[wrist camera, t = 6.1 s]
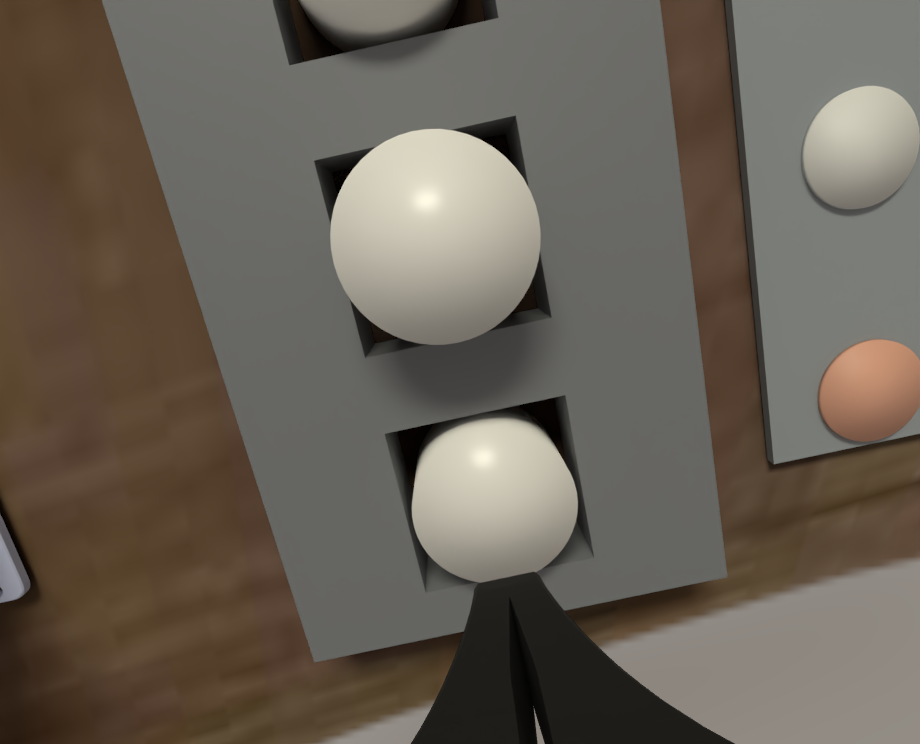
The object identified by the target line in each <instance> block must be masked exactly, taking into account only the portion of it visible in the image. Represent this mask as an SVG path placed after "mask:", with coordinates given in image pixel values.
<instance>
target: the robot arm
mask: <svg viewBox="0 0 920 744" xmlns="http://www.w3.org/2000/svg"><path fill="white" fill-rule="evenodd" d="M0 587H1V589H2V590H3V591H2V590H0V603H3V602H8V601H12V600H16V599H19V598H21V597H22V596H23V595H24V594H25V593H26V592H27V591H28V590H29V589H30V580H29V578H28V575H27V573H26V571H25V569H24V566H23V564H22V562H21V560H20V557H19V555H18V553H17V551H16V548H15V546H14V544H13V541H12V539H11V537H10V535H9V532H8V530H7V528H6V526H5V523H4V521H3V519H2V517H1V514H0ZM533 706H534V707H533ZM534 709H535V713H536V716H537V719H538V723H539V726H540V729H541V732H542V736H543V739H544V742H545V744H734V743H732V742H731V741H729V740H727V739H725V738H723V737H721V736H720V735H718V734H716V733H714V732H712V731H711V730H709V729H707V728H705V727H703V726H702V725H700V724H699V723H697V722H696V721H694V720H693V719H691V718H689V717H688V716H686V715H685V714H683V713H682V712H680V711H679V710H677V709H675V708H674V707H672V706H671V705H669V704H668V703H666V702H664V701H663V700H662V699H660V698H659V697H658V696H656V695H655V694H654V693H652V692H651V691H650V690H648V689H647V688H646V687H644V686H643V685H641V684H640V683H639V682H638V681H637V680H635V679H634V678H633V677H632V676H630V675H629V674H628V673H627V672H625V671H624V670H623V669H622V668H621V667H620V666H618V665H617V664H616V663H615V662H614V661H613V660H612V659H610V658H609V657H608V656H607V655H606V654H605V653H604V652H603V651H602V650H601V649H600V648H599V647H598V646H597V645H596V644H595V643H594V642H593V641H592V640H591V639H590V638H589V637H588V636H587V635H586V634H585V633H584V632H583V631H582V630H581V629H580V628H579V627H578V626H577V624H576V623H575V622H574V621H573V620H572V619H571V618H570V617H569V616H568V614H567V613H566V612H565V611H564V610H563V608H562V607H561V606H560V605H559V603H558V602H557V601H556V600H555V598H554V597H553V596H552V594H551V593H550V592H549V590H548V589H547V587H546V586H545V584H544V582H543V581H542V579H541V577H540V575H538V574H537V573H535V572H529V573H525V574H520V575H515V576H510V577H506V578H501V579H496V580H491V581H487V582H482V583H478V584H477V586H476V587H475V589H474V595H473V600H472V605H471V609H470V613H469V616H468V620H467V623H466V626H465V629H464V632H463V635H462V638H461V641H460V644H459V647H458V650H457V652H456V655H455V658H454V660H453V662H452V665H451V667H450V669H449V672H448V674H447V676H446V679H445V681H444V683H443V686H442V688H441V690H440V692H439V694H438V696H437V698H436V700H435V702H434V704H433V706H432V708H431V710H430V712H429V714H428V715H427V717H426V719H425V721H424V723H423V725H422V726H421V728H420V730H419V731H418V733H417V735H416V736H415V738H414V740H413V741H412V743H411V744H537V736H536V727H535V716H534Z"/></svg>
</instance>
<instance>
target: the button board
mask: <svg viewBox="0 0 920 744" xmlns="http://www.w3.org/2000/svg"><path fill="white" fill-rule="evenodd" d="M481 1H482V6H483V12H484V17H485V21H483V22H478V23H474V24H469V25H465V26H461V27H456V28H452V29H447V30H443V31H439V32H434V33H430V34H426V35H421V36H417V37H412V38H408V39H404V40H399V41H395V42H390V43H386V44H382V45H377V46H373V47H368V48H364V49H360V50H355V51H351V52H346V53H342V54H338V55H333V56H329V57H324V58H320V59H316V60H311V61H307V62H304V60H303V56H302V52H301V48H300V45H299V41H298V37H297V33H296V29H295V25H294V21H293V17H292V13H291V9H290V5H289V1H288V0H102V2H103V5H104V9H105V12H106V15H107V18H108V21H109V24H110V27H111V30H112V33H113V37H114V40H115V43H116V46H117V49H118V52H119V55H120V58H121V61H122V65H123V68H124V71H125V74H126V77H127V80H128V83H129V86H130V89H131V93H132V96H133V99H134V102H135V105H136V108H137V111H138V114H139V118H140V121H141V124H142V127H143V130H144V133H145V136H146V139H147V142H148V146H149V149H150V152H151V155H152V158H153V161H154V164H155V167H156V170H157V174H158V177H159V180H160V183H161V186H162V189H163V192H164V195H165V198H166V202H167V205H168V208H169V211H170V214H171V217H172V220H173V223H174V227H175V230H176V233H177V236H178V239H179V242H180V245H181V248H182V251H183V255H184V258H185V261H186V264H187V267H188V270H189V273H190V276H191V279H192V283H193V286H194V289H195V292H196V295H197V298H198V301H199V304H200V307H201V311H202V314H203V317H204V320H205V323H206V326H207V329H208V332H209V336H210V339H211V342H212V345H213V348H214V351H215V354H216V357H217V360H218V364H219V367H220V370H221V373H222V376H223V379H224V382H225V385H226V388H227V392H228V395H229V398H230V401H231V404H232V407H233V410H234V413H235V416H236V420H237V423H238V426H239V429H240V432H241V435H242V438H243V441H244V444H245V448H246V451H247V454H248V457H249V460H250V463H251V466H252V469H253V473H254V476H255V479H256V482H257V485H258V488H259V491H260V494H261V497H262V501H263V504H264V507H265V510H266V513H267V516H268V519H269V522H270V525H271V529H272V532H273V535H274V538H275V541H276V544H277V547H278V550H279V553H280V557H281V560H282V563H283V566H284V569H285V572H286V575H287V578H288V582H289V585H290V588H291V591H292V594H293V597H294V600H295V603H296V606H297V610H298V613H299V616H300V619H301V622H302V625H303V628H304V631H305V634H306V638H307V641H308V644H309V647H310V650H311V653H312V656H313V659H314V662H319V661H324V660H328V659H333V658H338V657H343V656H348V655H353V654H357V653H362V652H367V651H372V650H377V649H382V648H386V647H391V646H396V645H401V644H406V643H411V642H415V641H420V640H425V639H430V638H435V637H440V636H444V635H449V634H454V633H459V632H464V629H465V626H466V623H467V620H468V616H469V613H470V609H471V605H472V600H473V595H474V589H475V587H476V586H477V584H478V583H479V582H475V581H470V580H467V579H464V578H461V577H458V576H456V575H454V574H452V573H450V572H448V571H447V570H445V569H444V568H442V567H441V566H440V565H439V564H437V563H436V562H435V561H434V560H433V559H432V558H431V557H430V556H429V555H428V553H427V552H426V551H425V549H424V548H423V546H422V545H421V543H420V541H419V539H418V537H417V534H416V531H415V528H414V524H413V519H412V500H413V491H412V487H411V483H410V479H409V475H408V472H407V468H406V464H405V460H404V456H403V452H402V448H401V444H400V440H399V436H398V432H397V431H400V430H405V429H409V428H414V427H419V426H423V425H428V424H433V423H437V422H442V421H447V420H452V419H456V418H461V417H466V416H470V415H475V414H480V413H484V412H489V411H494V410H498V409H503V408H508V407H512V406H517V405H522V404H526V403H531V402H536V401H540V400H545V399H550V398H554V401H555V407H556V412H557V418H558V423H559V429H560V434H561V440H562V445H563V451H564V456H565V462H566V466H567V468H568V470H569V471H570V473H571V476H572V478H573V480H574V483H575V487H576V491H577V499H578V512H577V518H576V523H575V526H574V529H573V532H572V534H571V536H570V538H569V540H568V542H567V543H566V545H565V546H564V548H563V549H562V551H561V552H560V553H559V554H558V555H557V556H556V557H555V558H554V559H553V560H552V561H551V562H550V563H549V564H548V565H546V566H545V567H543V568H542V569H541V570H539V571H537V572H535V573H537V574H538V575H540V577H541V579H542V581H543V582H544V584H545V586H546V587H547V589H548V590H549V592H550V593H551V594H552V596H553V597H554V598H555V600H556V601H557V602H558V603H559V605H560V606H561V607H562V608H563V610H564V611H565V610H570V609H575V608H580V607H585V606H590V605H594V604H599V603H604V602H609V601H614V600H619V599H623V598H628V597H633V596H638V595H643V594H648V593H652V592H657V591H662V590H667V589H672V588H677V587H681V586H686V585H691V584H696V583H701V582H706V581H710V580H715V579H720V578H725V577H727V570H726V561H725V553H724V544H723V536H722V527H721V519H720V510H719V502H718V493H717V484H716V476H715V467H714V459H713V450H712V442H711V433H710V425H709V416H708V408H707V399H706V390H705V382H704V373H703V365H702V356H701V348H700V339H699V331H698V322H697V314H696V305H695V296H694V288H693V279H692V271H691V262H690V254H689V245H688V237H687V228H686V220H685V211H684V202H683V194H682V185H681V177H680V168H679V160H678V151H677V143H676V134H675V126H674V117H673V108H672V100H671V91H670V83H669V74H668V66H667V57H666V49H665V40H664V32H663V23H662V14H661V6H660V0H481ZM423 129H445V130H453V131H457V132H461V133H465V134H468V135H471V136H473V137H475V138H478V139H483V138H488V137H492V136H497V135H501V134H506V138H507V143H508V149H509V154H510V160H511V163H512V164H513V165H514V166H515V167H516V169H517V170H518V172H519V173H520V174H521V176H522V177H523V179H524V180H525V182H526V184H527V186H528V188H529V190H530V191H531V194H532V197H533V199H534V202H535V204H536V208H537V212H538V216H539V223H540V232H541V240H540V253H539V260H538V264H537V267H536V271H535V274H534V277H533V279H532V280H533V286H534V291H535V297H536V302H537V308H536V309H532V310H527V311H522V312H518V313H513V314H509V315H508V316H507V317H506V318H505V319H504V320H503V321H502V322H500V323H499V324H498V325H496V326H495V327H494V328H492V329H490V330H489V331H487V332H485V333H484V334H482V335H479V336H477V337H475V338H472V339H469V340H466V341H462V342H459V343H453V344H446V345H428V344H419V343H415V342H411V341H406V340H404V339H401V338H398V339H393V340H389V341H384V342H380V343H375V341H374V337H373V333H372V329H371V325H370V321H369V319H367V318H366V317H365V316H364V315H363V314H362V313H361V312H360V311H359V310H358V308H357V307H356V306H355V305H354V304H353V303H352V301H351V300H350V298H349V297H348V295H347V293H346V292H345V290H344V288H343V286H342V284H341V282H340V280H339V278H338V275H337V272H336V269H335V266H334V262H333V257H332V252H331V241H330V231H331V219H332V214H333V209H334V206H335V203H336V200H337V197H338V195H337V191H336V187H335V183H334V179H333V175H332V172H336V171H340V170H345V169H349V168H354V167H355V166H356V165H357V164H358V163H359V161H360V160H361V159H362V158H363V157H364V156H366V155H367V154H368V153H369V152H370V151H371V150H373V149H374V148H376V147H377V146H379V145H380V144H382V143H383V142H385V141H387V140H389V139H391V138H393V137H396V136H398V135H401V134H404V133H408V132H411V131H417V130H423Z"/></svg>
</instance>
